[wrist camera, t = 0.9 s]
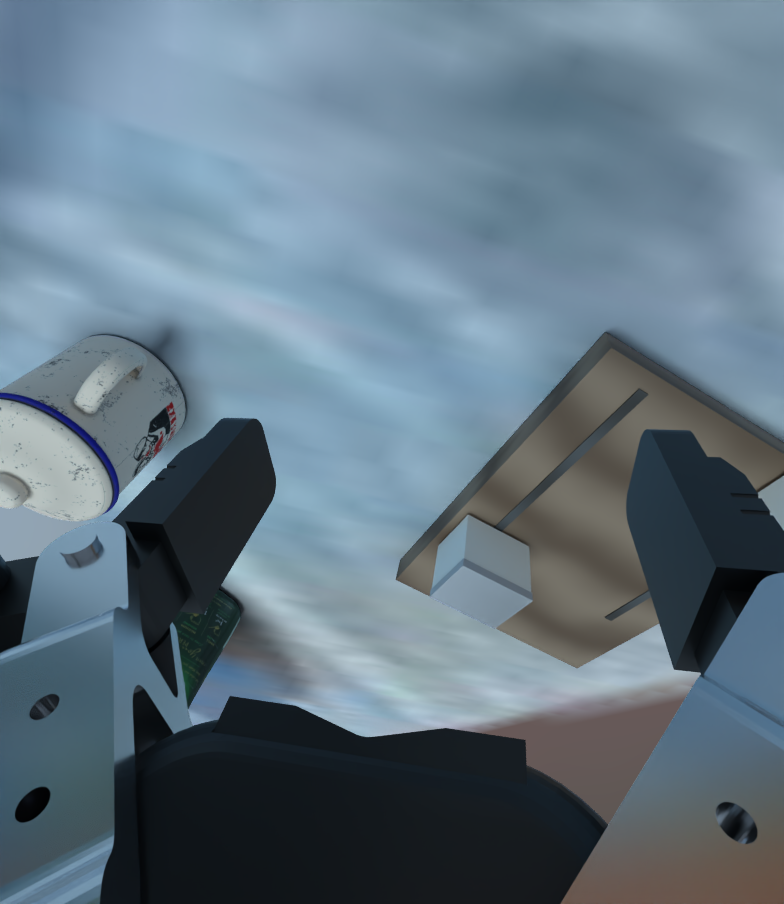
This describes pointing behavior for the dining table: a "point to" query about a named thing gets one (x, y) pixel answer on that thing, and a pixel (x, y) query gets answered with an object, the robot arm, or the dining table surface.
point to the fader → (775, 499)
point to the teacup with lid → (85, 427)
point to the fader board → (589, 497)
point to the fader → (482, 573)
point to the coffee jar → (204, 639)
